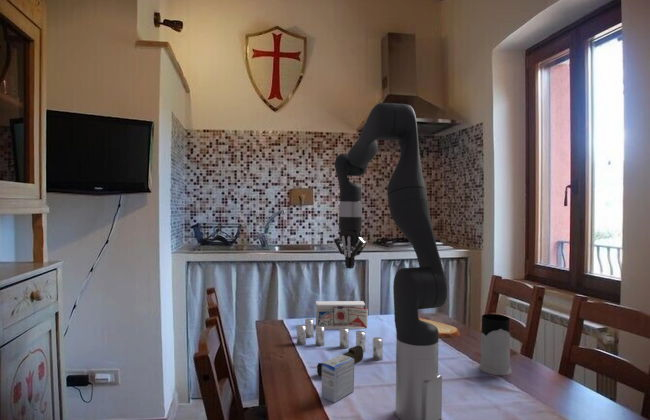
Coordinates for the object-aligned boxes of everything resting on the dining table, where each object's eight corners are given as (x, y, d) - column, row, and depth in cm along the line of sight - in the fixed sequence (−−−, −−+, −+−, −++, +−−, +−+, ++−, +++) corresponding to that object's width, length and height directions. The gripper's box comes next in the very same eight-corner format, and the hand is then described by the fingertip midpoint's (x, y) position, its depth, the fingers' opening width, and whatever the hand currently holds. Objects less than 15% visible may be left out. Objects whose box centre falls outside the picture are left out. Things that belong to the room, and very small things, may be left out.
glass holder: (485, 375, 114) (485, 321, 114) (468, 356, 129) (469, 308, 129) (516, 375, 114) (517, 321, 114) (497, 356, 128) (497, 308, 128)
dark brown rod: (326, 380, 111) (326, 363, 111) (316, 375, 114) (316, 359, 114) (369, 361, 125) (370, 346, 124) (359, 358, 127) (360, 343, 127)
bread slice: (463, 337, 148) (464, 327, 148) (417, 340, 144) (417, 330, 144) (439, 323, 166) (439, 314, 166) (397, 326, 162) (398, 316, 162)
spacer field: (386, 357, 127) (386, 338, 127) (358, 368, 118) (358, 348, 118) (315, 332, 151) (316, 316, 151) (287, 340, 142) (287, 323, 142)
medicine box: (340, 386, 106) (340, 353, 106) (354, 392, 104) (354, 357, 104) (320, 397, 100) (321, 362, 100) (335, 403, 98) (335, 367, 97)
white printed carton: (315, 329, 156) (316, 304, 156) (315, 324, 162) (315, 301, 161) (368, 329, 157) (368, 304, 157) (366, 324, 162) (366, 301, 162)
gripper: (373, 215, 132) (372, 269, 133) (343, 214, 142) (342, 264, 142) (358, 216, 127) (357, 272, 127) (327, 214, 136) (327, 266, 137)
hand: (349, 268), depth 135 cm, fingers closed
